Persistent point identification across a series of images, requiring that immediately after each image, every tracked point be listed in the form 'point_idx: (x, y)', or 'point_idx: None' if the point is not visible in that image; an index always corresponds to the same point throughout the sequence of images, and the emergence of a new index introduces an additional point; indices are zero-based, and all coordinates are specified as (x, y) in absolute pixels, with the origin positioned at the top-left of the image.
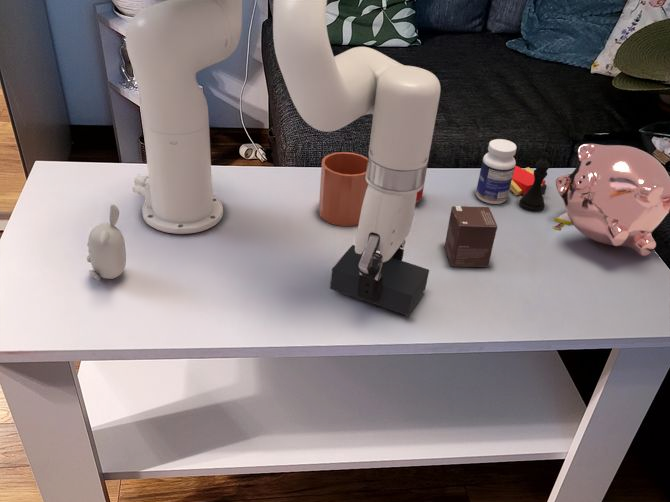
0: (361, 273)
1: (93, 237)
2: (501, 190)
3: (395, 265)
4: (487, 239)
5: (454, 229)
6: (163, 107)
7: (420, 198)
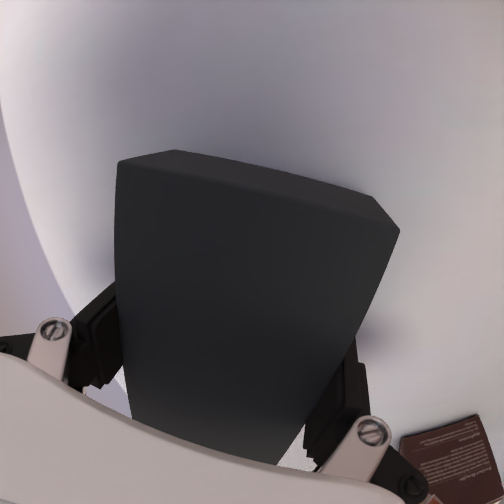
0: (13, 338)
1: None
2: None
3: (263, 411)
4: None
5: (439, 498)
6: None
7: None
